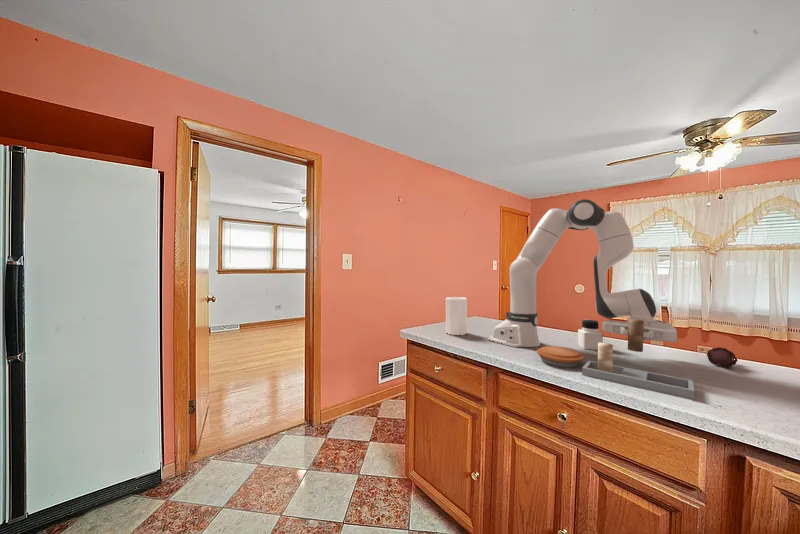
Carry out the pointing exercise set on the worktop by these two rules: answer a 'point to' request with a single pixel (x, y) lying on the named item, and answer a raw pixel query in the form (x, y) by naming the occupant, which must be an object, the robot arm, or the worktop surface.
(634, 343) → the walnut dowel
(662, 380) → the rack
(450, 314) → the cup
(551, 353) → the pie
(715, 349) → the dark brown oval piece
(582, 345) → the medicine bottle
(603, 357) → the birch dowel
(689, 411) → the worktop surface
